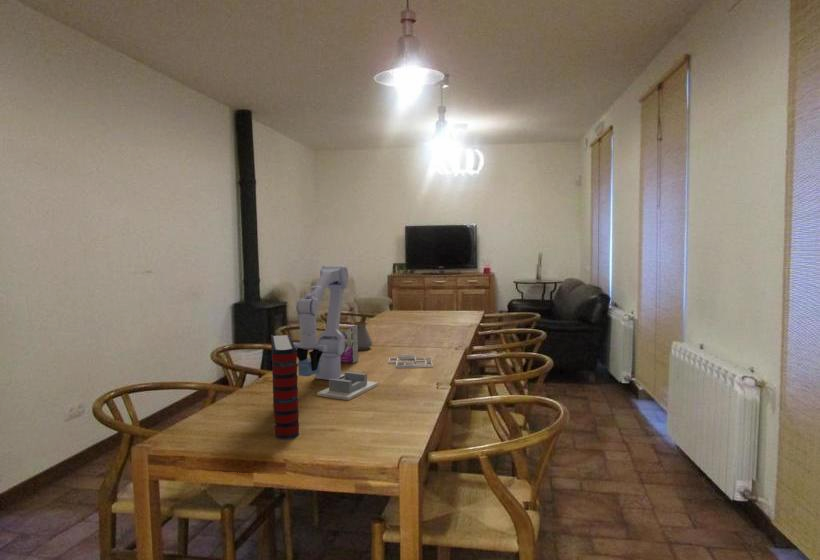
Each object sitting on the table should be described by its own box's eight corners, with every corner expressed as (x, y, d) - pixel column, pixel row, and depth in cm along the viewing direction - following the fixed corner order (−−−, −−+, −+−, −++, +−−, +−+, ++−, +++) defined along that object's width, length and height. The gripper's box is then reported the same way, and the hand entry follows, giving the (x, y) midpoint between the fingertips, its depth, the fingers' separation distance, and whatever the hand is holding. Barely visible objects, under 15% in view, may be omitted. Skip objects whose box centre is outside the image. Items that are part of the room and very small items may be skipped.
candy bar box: (331, 361, 235) (330, 325, 234) (337, 359, 240) (336, 323, 238) (352, 363, 230) (352, 326, 229) (358, 361, 235) (357, 324, 234)
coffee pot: (350, 346, 268) (350, 316, 267) (373, 346, 268) (373, 316, 267) (343, 355, 247) (343, 323, 246) (368, 355, 247) (367, 323, 245)
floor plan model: (376, 359, 241) (376, 355, 241) (431, 358, 241) (431, 354, 240) (373, 369, 222) (373, 365, 222) (432, 369, 222) (432, 364, 222)
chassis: (317, 395, 185) (316, 381, 184) (348, 381, 203) (347, 368, 202) (348, 400, 179) (348, 385, 179) (378, 385, 197) (377, 371, 196)
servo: (296, 376, 187) (295, 360, 186) (313, 369, 196) (312, 354, 195) (305, 377, 185) (304, 361, 185) (322, 370, 194) (321, 355, 193)
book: (300, 438, 146) (298, 349, 144) (274, 441, 144) (271, 350, 142) (293, 409, 170) (291, 333, 168) (271, 412, 168) (268, 334, 166)
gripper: (284, 332, 189) (286, 370, 190) (318, 335, 182) (319, 374, 184) (297, 329, 195) (298, 365, 196) (330, 332, 189) (331, 369, 190)
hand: (309, 369), depth 190 cm, fingers closed on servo, 4 cm apart
